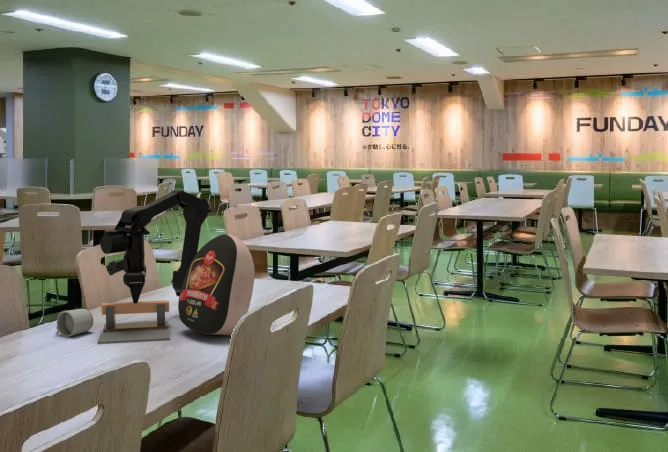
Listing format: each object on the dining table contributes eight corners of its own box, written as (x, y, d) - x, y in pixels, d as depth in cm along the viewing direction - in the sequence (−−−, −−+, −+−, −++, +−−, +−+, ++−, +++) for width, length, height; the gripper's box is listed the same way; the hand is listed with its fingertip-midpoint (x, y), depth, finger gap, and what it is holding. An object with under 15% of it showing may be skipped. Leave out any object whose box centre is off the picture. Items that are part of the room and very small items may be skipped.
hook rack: (167, 323, 219) (167, 300, 219) (167, 329, 213) (167, 305, 212) (105, 326, 215) (104, 303, 214) (103, 332, 208) (102, 308, 207)
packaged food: (168, 332, 209) (166, 234, 205) (219, 321, 223) (218, 229, 220) (214, 346, 194) (213, 241, 191) (265, 333, 209) (265, 235, 206)
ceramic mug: (95, 332, 209) (95, 307, 208) (74, 338, 201) (73, 312, 200) (70, 328, 213) (69, 304, 212) (49, 334, 206) (47, 309, 205)
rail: (169, 309, 217) (168, 300, 217) (169, 311, 214) (169, 302, 214) (102, 312, 212) (102, 303, 212) (101, 314, 209) (101, 305, 209)
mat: (169, 331, 210) (169, 329, 210) (169, 339, 201) (169, 337, 201) (100, 334, 206) (100, 332, 205) (97, 343, 196) (97, 341, 196)
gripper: (109, 246, 218) (110, 295, 220) (104, 255, 200) (106, 308, 202) (145, 245, 221) (147, 293, 223) (144, 254, 203) (145, 306, 205)
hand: (135, 300), depth 213 cm, fingers open, 9 cm apart
